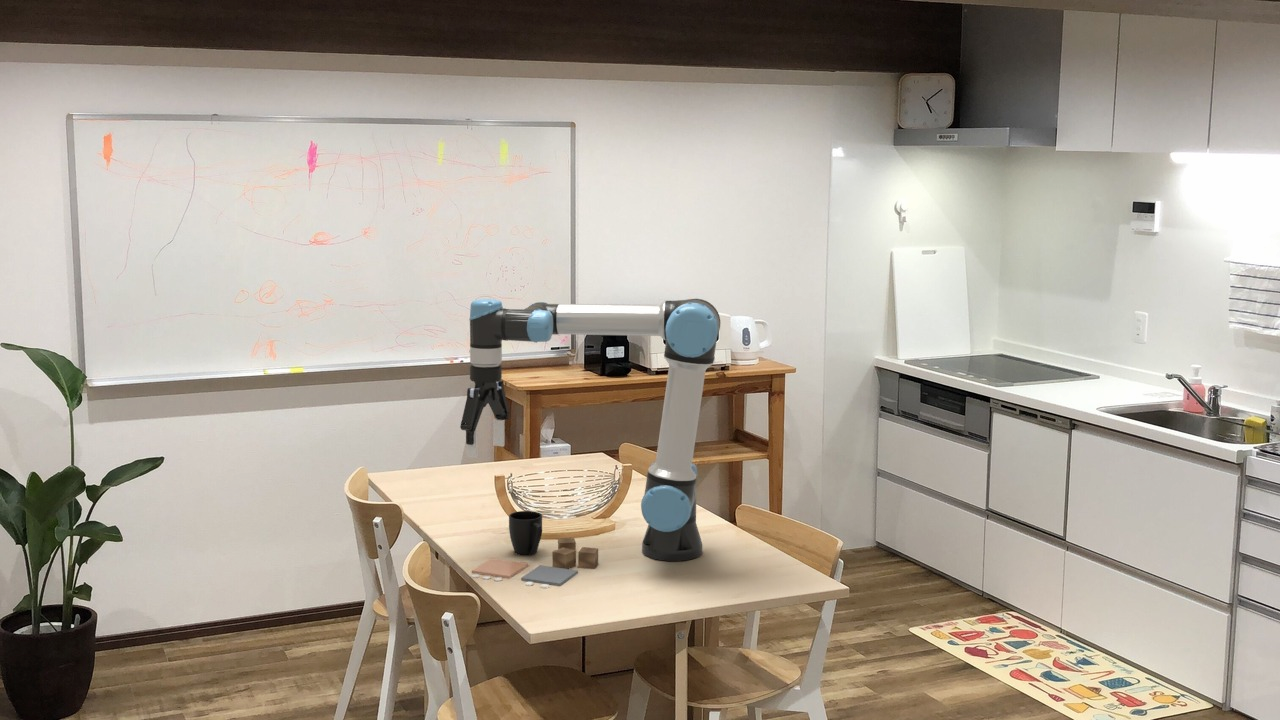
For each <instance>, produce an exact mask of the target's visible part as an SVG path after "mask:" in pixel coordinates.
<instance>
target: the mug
mask: <svg viewBox="0 0 1280 720" xmlns="http://www.w3.org/2000/svg"><path fill="white" fill-rule="evenodd" d="M508 531H509V537H510V542H511V544H512V548H513V552H514V554H515V555H518V556H532V555H535V554H536V553H537V552H538V548H539V545H540V543H541V538H542V534H543V515H542V513H541V512H539V511H533V510H532V511H531V510H521V511H514V512H511V513H510V514H509V515H508Z"/></svg>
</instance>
